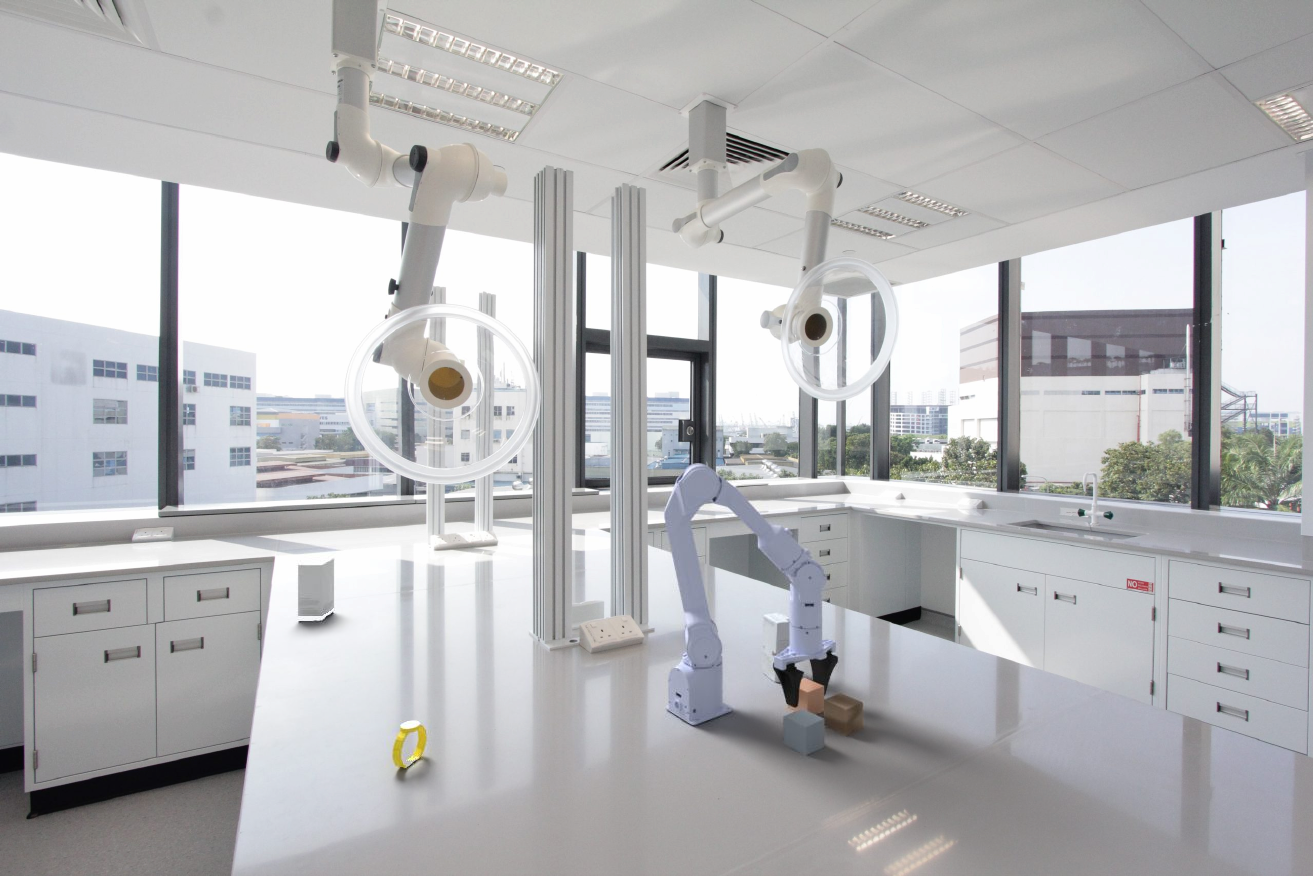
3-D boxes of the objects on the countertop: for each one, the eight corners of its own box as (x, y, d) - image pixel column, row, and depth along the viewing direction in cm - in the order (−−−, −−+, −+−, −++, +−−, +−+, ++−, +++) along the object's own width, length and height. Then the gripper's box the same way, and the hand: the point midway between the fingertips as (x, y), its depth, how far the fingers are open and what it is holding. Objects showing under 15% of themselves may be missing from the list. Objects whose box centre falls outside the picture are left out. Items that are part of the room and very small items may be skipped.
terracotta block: (807, 718, 105) (807, 692, 105) (787, 708, 108) (787, 683, 108) (824, 711, 107) (824, 686, 107) (804, 702, 111) (804, 677, 111)
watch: (415, 754, 94) (416, 715, 94) (430, 757, 93) (431, 717, 93) (387, 772, 88) (389, 730, 89) (403, 775, 87) (404, 733, 88)
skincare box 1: (311, 613, 167) (310, 557, 167) (336, 612, 168) (335, 556, 168) (296, 622, 159) (296, 564, 159) (323, 621, 159) (322, 563, 159)
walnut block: (846, 736, 98) (846, 709, 98) (823, 726, 102) (823, 699, 102) (862, 728, 101) (862, 702, 101) (840, 718, 104) (840, 692, 104)
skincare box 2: (761, 672, 125) (761, 614, 125) (780, 669, 126) (780, 612, 126) (775, 683, 119) (775, 622, 119) (795, 681, 120) (795, 620, 120)
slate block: (805, 756, 92) (805, 727, 92) (783, 744, 96) (783, 716, 96) (824, 747, 95) (824, 719, 95) (802, 735, 99) (802, 708, 99)
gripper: (795, 638, 100) (796, 719, 100) (849, 622, 109) (849, 696, 109) (764, 627, 106) (765, 704, 106) (818, 612, 114) (818, 683, 115)
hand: (806, 699), depth 108 cm, fingers open, 7 cm apart
